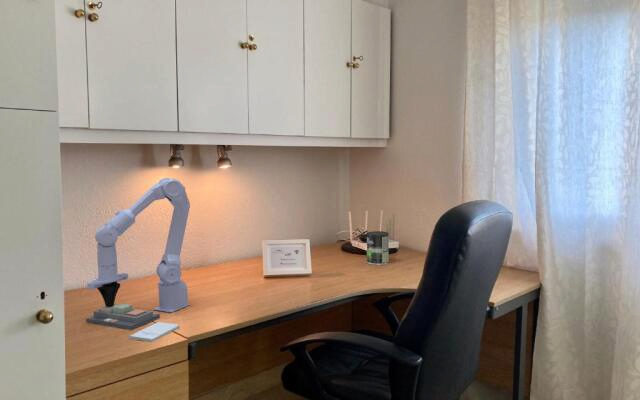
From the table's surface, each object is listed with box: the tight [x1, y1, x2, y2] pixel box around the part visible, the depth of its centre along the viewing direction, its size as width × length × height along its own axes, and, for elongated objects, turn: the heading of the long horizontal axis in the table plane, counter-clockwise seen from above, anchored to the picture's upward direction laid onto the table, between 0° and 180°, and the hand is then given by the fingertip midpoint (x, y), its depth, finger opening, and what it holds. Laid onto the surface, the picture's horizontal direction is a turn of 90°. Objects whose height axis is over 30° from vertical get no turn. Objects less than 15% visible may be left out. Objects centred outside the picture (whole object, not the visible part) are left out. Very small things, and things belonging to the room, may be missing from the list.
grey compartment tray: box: [85, 308, 161, 331], centre depth 164 cm, size 12×19×3 cm, turn 65°
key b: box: [113, 303, 133, 315], centre depth 164 cm, size 4×4×2 cm
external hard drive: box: [128, 321, 180, 343], centre depth 152 cm, size 2×8×12 cm
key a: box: [99, 303, 118, 313], centre depth 166 cm, size 4×4×2 cm
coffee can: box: [366, 230, 390, 266], centre depth 241 cm, size 10×10×14 cm
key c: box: [126, 309, 146, 317], centre depth 162 cm, size 4×4×2 cm
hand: (109, 306), depth 166 cm, fingers closed, pressing on key a
